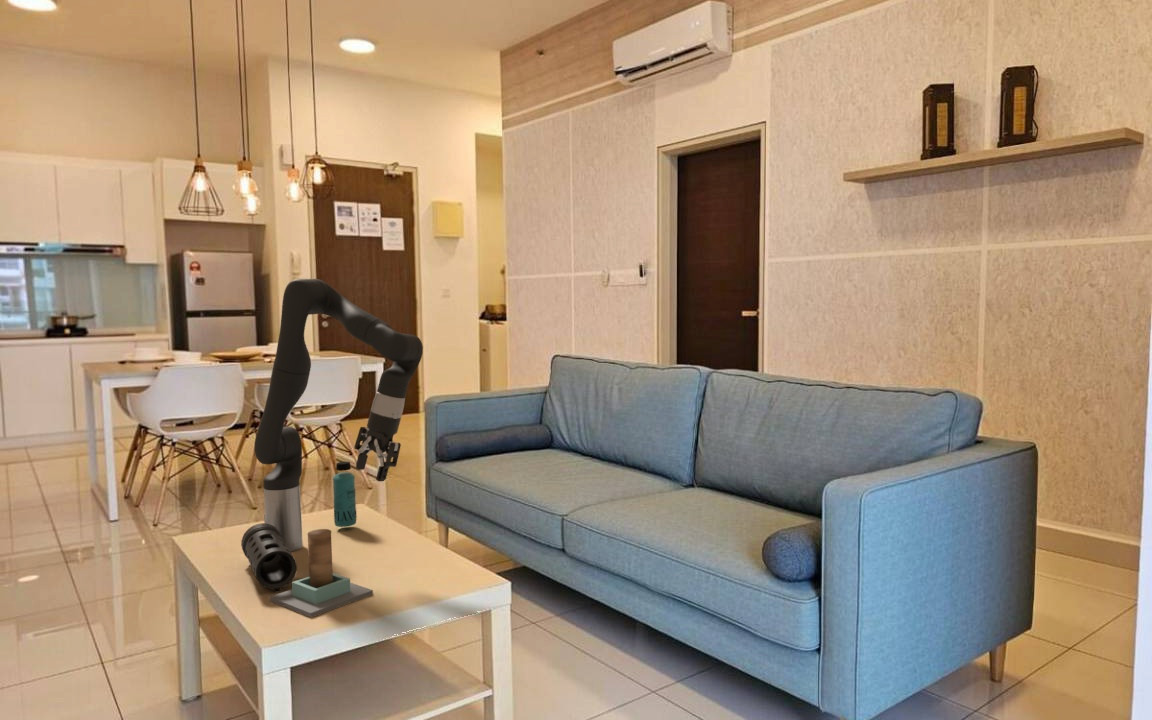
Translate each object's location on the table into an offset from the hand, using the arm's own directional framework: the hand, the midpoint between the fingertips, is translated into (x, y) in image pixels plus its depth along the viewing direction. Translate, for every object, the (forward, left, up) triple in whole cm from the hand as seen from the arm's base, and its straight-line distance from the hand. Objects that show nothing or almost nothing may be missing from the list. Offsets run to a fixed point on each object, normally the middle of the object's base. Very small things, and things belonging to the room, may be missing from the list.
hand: (369, 474), depth 192 cm
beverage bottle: (-36, +17, -24) cm, 47 cm away
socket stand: (+6, -19, -24) cm, 31 cm away
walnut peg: (+6, -19, -23) cm, 30 cm away
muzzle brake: (-18, -18, -24) cm, 35 cm away
